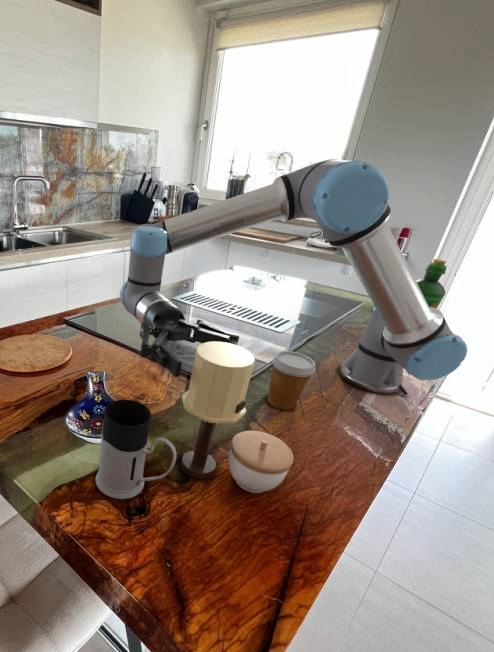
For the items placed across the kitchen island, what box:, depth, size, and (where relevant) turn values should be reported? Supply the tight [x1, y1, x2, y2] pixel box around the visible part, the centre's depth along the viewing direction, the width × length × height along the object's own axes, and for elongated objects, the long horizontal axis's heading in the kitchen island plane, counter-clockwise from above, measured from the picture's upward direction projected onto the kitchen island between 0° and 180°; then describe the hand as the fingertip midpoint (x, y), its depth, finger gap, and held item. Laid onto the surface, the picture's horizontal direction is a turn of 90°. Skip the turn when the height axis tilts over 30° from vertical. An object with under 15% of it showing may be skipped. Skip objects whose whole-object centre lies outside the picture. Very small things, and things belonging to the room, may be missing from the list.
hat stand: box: [180, 419, 217, 480], centre depth 73 cm, size 6×6×24 cm
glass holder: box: [95, 399, 178, 500], centre depth 69 cm, size 9×14×15 cm, turn 50°
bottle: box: [415, 258, 448, 309], centre depth 134 cm, size 11×11×28 cm
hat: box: [181, 341, 256, 425], centre depth 69 cm, size 10×10×10 cm
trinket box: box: [227, 430, 294, 494], centre depth 74 cm, size 11×11×9 cm
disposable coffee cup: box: [266, 350, 316, 411], centre depth 98 cm, size 10×10×12 cm
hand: (214, 365), depth 70 cm, fingers open, 13 cm apart
